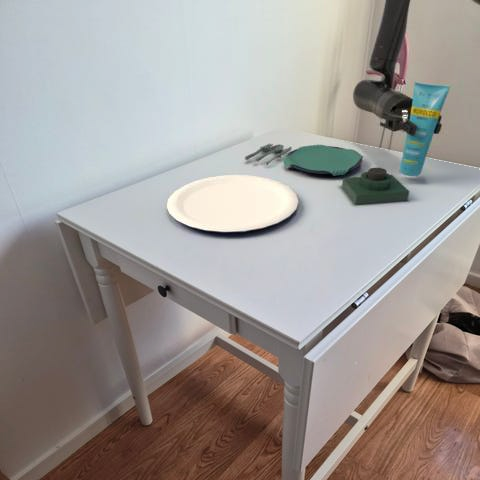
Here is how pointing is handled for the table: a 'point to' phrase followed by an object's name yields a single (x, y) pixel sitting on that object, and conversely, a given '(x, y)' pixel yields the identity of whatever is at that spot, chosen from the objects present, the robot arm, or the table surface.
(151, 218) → the table surface
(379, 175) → the button
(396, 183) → the pump base
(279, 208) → the plate
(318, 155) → the cutlery set
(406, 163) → the tube
